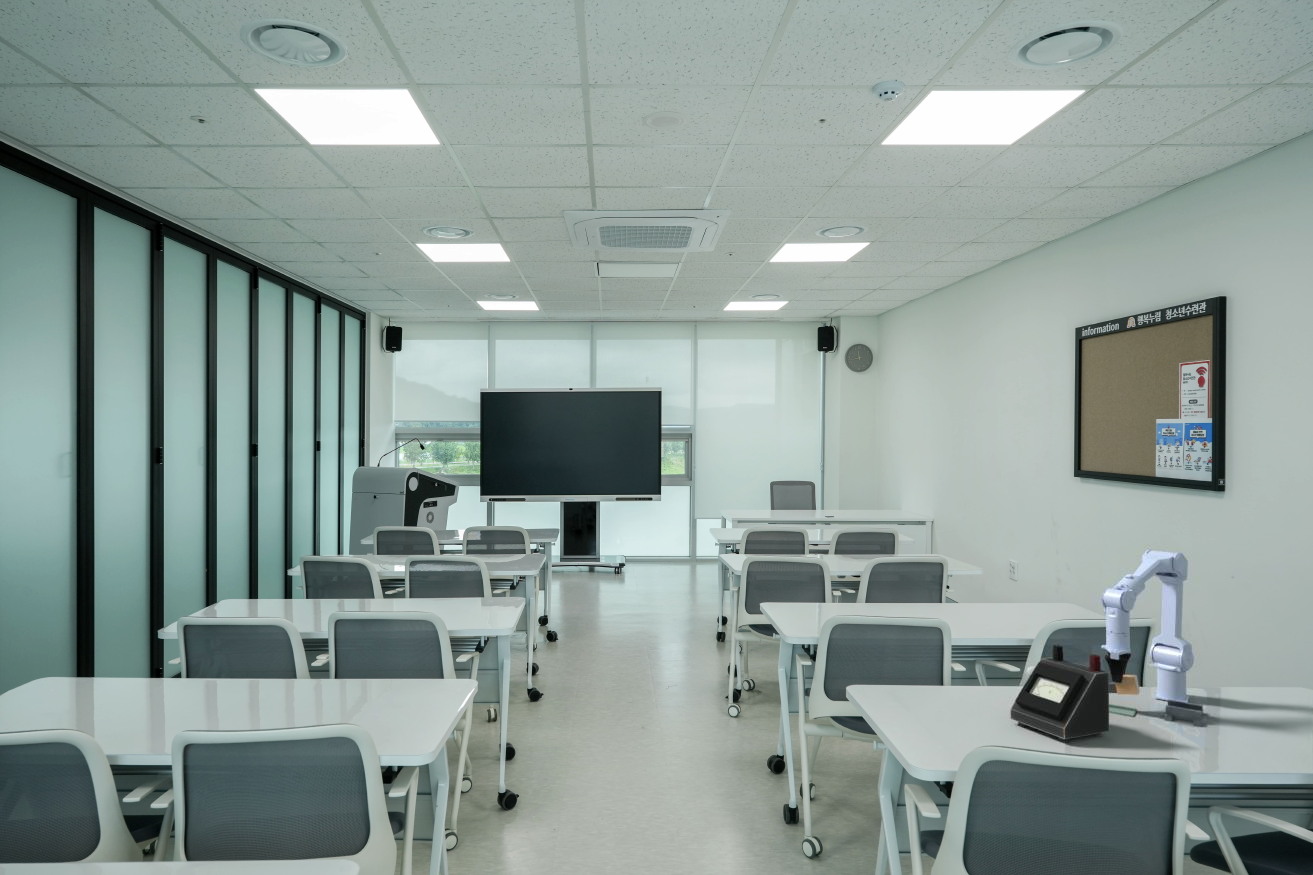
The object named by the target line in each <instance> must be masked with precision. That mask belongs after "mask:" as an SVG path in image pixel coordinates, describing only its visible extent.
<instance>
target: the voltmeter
mask: <svg viewBox="0 0 1313 875" xmlns="http://www.w3.org/2000/svg"><path fill="white" fill-rule="evenodd" d="M1063 651H1064V647H1063V646H1062V645H1060V644H1058V645H1057V644H1053V646H1052V657H1045V658H1040V659H1039V661H1038V662H1037V664H1036V665H1035V669H1034V670H1033V672H1032V674H1031V675H1030V677H1028V678H1027V680H1026V681H1025V684H1024V685H1023V687H1022V688H1021V689H1020V691H1019V694H1018V695H1017V697H1016V699H1015V700H1014V702H1013V704H1012V706H1011V707H1010V709H1009V711H1010V714H1009V716H1010V717H1009V718H1010V719H1011V720H1013V721H1015V722H1017V724H1018V726H1019V727H1022V728H1027V727H1028V726H1029V727H1031V728H1034V729H1037V730H1039V731H1042V732H1044V733H1047V734H1050V735H1052V736H1055V737H1057V740H1058V741H1059V742H1060V743H1068V739H1073V738H1074V739H1075V738H1079V737H1085V736H1092V737H1101V734H1102V733H1108V732H1110V713H1109V704H1110V693H1109V683H1110V677H1109V676H1110V673H1109V672H1110V671H1106V670H1102V668H1101V666H1102V664H1101V655H1099V654H1092V653H1091V654H1090V655H1089V661H1088V662H1089V666H1087V665H1084V664H1079V663H1076V662H1072V661H1069V660H1066V659H1064V652H1063Z"/></svg>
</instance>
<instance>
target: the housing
mask: <svg viewBox="0 0 1313 875" xmlns="http://www.w3.org/2000/svg"><path fill="white" fill-rule="evenodd" d="M1203 707H1204V705H1203V704H1198V703H1193V702H1189V701H1188V702H1182V701H1176V700H1170V699H1168V701H1167V704H1166V705H1165V714H1164V721H1167V722H1173V720H1179V721H1184V722H1190V723H1193V726H1195V727H1199V728H1201V727H1202V725H1203V724H1202V723H1203V717H1204V708H1203Z"/></svg>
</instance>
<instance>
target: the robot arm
mask: <svg viewBox="0 0 1313 875" xmlns="http://www.w3.org/2000/svg"><path fill="white" fill-rule="evenodd" d="M1188 562H1189V561H1188V559H1187V558H1186V557H1185V555H1184V553H1182V552H1173V551H1172V552H1171V551H1162V550H1161V551H1160V550H1153V549H1147V550H1146V551H1145V552H1144V553H1143V554H1142V556H1141V564H1140V565H1139V566H1138V568H1137V569H1136V570H1135V571H1134V572H1133V573H1130V574H1126V575H1124V576H1123V577H1122V579H1121V580H1120V581H1119V582H1118V583H1116V585H1115V586H1113V587H1111V588H1107V589H1105V590H1103V592H1102V595H1101V599H1100V600H1101V605H1102V607H1103V612H1104V614H1105V627H1106V628H1105V631H1106V632H1105V633H1106V634H1105V635H1106V636H1105V641H1106V642H1105V644H1102V645H1101V646H1100V647H1101V649H1105V650H1106V651H1108V652H1107V654H1105V655H1104V659H1105V662H1106V663H1107V665H1108V668H1109V672H1110V676H1111V680H1112V683H1115V682H1118V683H1121V682H1122V679H1123V675H1126V670H1127V666H1128V663H1129V660H1130V658H1131V657H1132V654H1131V638H1130V637H1131V634H1130V632H1131V631H1130V630H1131V626H1130V624H1131V622H1130V618H1131V617H1130V614H1131V613H1130V612H1131V611H1133V609H1134V607H1135V602H1136V600H1137V597H1138V596H1139V595H1141V593H1142V592H1143V591H1144V590H1145V589H1146V584H1145V583H1146V582H1147V581H1148V580H1150V579H1151V578H1153V577H1154V576H1155V577H1157V578H1159V580H1160V581H1161V582H1162V588H1161V589H1162V592H1161V593H1162V595H1161V619H1160V620H1161V623H1160V634H1159V635H1157V636H1155V637H1154V638H1152V640H1151V646H1150V648H1149V658H1150V661H1151V662H1152V663H1153V664H1154V667H1156V686H1157V687H1156V691H1155V695H1154V699H1156V700H1162V701H1167V702H1168V699H1170V700H1176V701H1182V702H1188V703H1189V698H1190V695H1189V694H1187V671H1188V672H1189V671H1190V670H1191V669H1192V667H1193V666H1194V663H1195V662H1194V661H1195V659H1194V658H1195V657H1194V654H1193V648H1192V647H1193V646H1192V644H1191V643H1189V642H1188V641H1187V640H1186V639H1185V638H1184V637H1183V636H1182V629H1183V628H1182V627H1183V600H1184V598H1183V596H1184V581H1186V580H1188V568H1189V567H1188V566H1189V563H1188Z"/></svg>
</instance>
